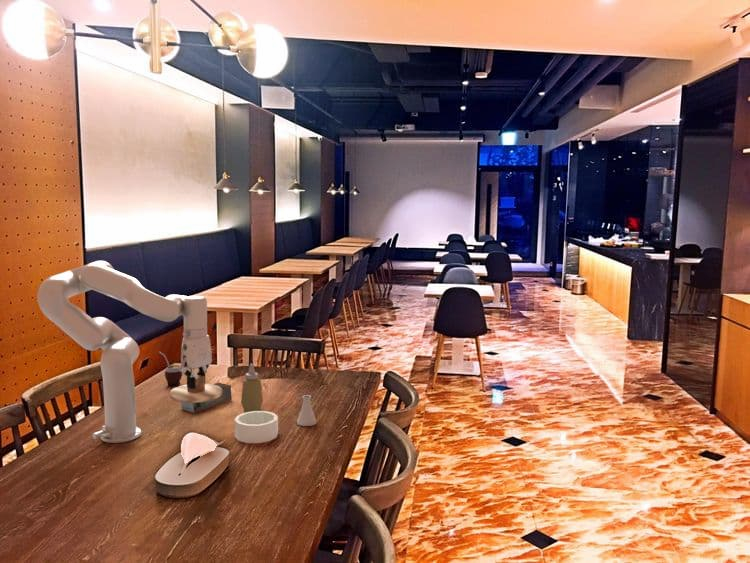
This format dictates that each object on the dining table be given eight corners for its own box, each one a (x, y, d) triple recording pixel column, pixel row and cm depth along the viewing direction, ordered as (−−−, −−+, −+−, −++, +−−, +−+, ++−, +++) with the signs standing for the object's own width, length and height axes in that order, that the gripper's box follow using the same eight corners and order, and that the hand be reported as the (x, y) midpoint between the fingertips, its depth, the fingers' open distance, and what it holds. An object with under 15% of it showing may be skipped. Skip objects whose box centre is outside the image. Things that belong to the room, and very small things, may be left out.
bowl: (259, 446, 201) (259, 428, 200) (226, 437, 208) (226, 420, 207) (285, 432, 213) (285, 415, 212) (253, 424, 220) (253, 408, 219)
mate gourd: (186, 384, 265) (185, 350, 263) (171, 389, 258) (170, 354, 256) (174, 381, 269) (173, 347, 267) (159, 386, 262) (158, 351, 260)
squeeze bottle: (265, 407, 238) (265, 361, 235) (259, 414, 230) (259, 367, 227) (245, 406, 238) (244, 361, 236) (238, 413, 230) (237, 366, 228)
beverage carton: (180, 409, 235) (179, 392, 234) (219, 396, 251) (219, 380, 250) (193, 413, 231) (193, 396, 230) (232, 400, 246) (232, 384, 245)
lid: (196, 406, 198) (196, 387, 197) (158, 396, 206) (158, 378, 205) (232, 392, 212) (232, 374, 212) (196, 383, 221) (195, 366, 220)
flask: (313, 427, 218) (313, 400, 217) (293, 425, 219) (293, 398, 218) (319, 420, 225) (319, 394, 224) (300, 418, 226) (300, 392, 225)
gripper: (185, 339, 197) (185, 394, 200) (221, 330, 212) (221, 381, 214) (168, 336, 201) (169, 390, 203) (205, 327, 215) (205, 378, 218)
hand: (196, 385), depth 209 cm, fingers closed on lid, 4 cm apart
